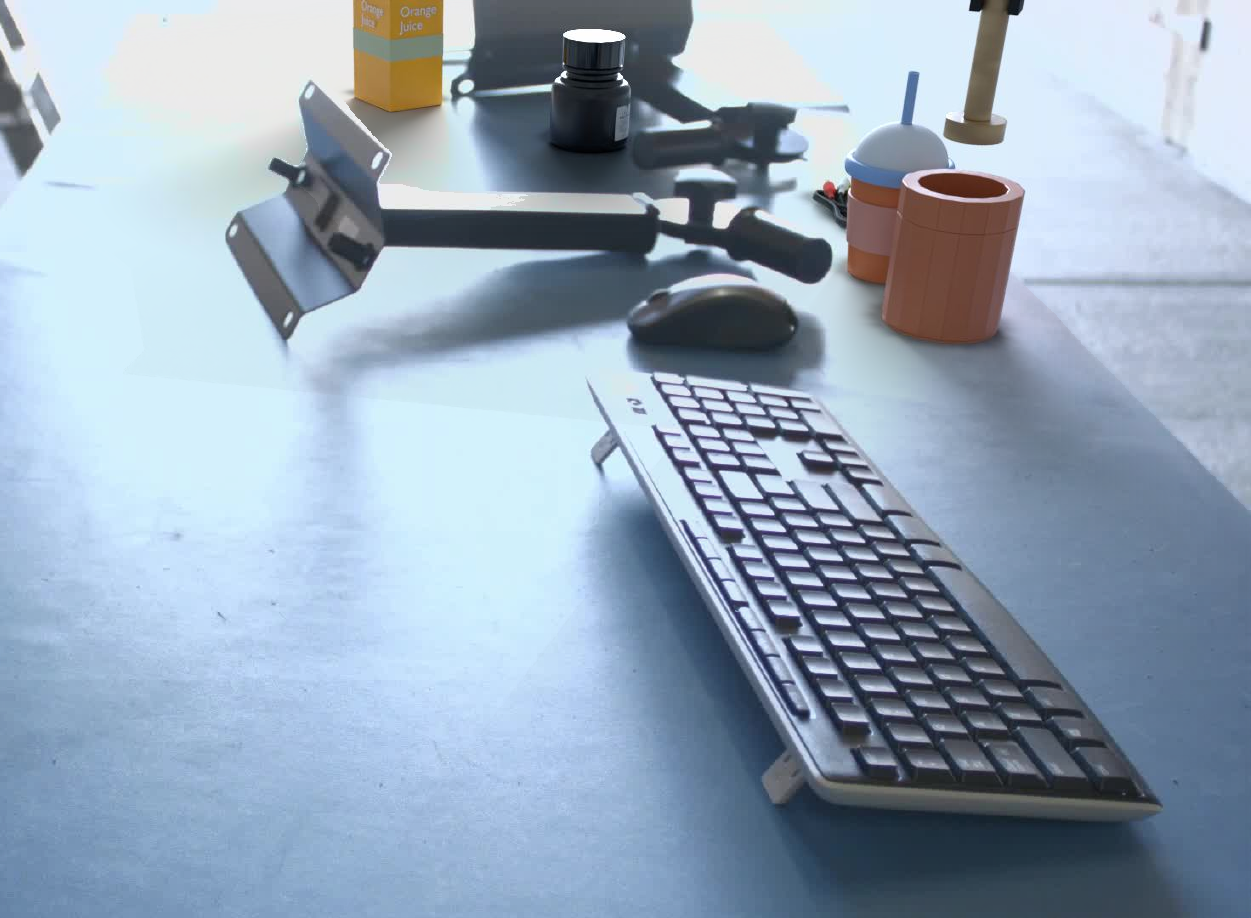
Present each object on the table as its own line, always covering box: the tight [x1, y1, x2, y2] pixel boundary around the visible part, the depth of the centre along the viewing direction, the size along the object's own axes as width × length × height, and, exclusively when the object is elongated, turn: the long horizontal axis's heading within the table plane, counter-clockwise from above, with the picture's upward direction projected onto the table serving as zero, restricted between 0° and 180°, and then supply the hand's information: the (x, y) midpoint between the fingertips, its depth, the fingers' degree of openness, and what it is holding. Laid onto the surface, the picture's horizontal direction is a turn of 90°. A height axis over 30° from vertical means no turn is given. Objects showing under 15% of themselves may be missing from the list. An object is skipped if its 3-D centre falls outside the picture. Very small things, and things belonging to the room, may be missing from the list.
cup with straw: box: [844, 70, 956, 285], centre depth 130 cm, size 9×9×18 cm
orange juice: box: [352, 0, 444, 113], centre depth 184 cm, size 8×9×20 cm
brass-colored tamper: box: [942, 0, 1011, 146], centre depth 111 cm, size 4×4×18 cm
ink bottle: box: [548, 29, 632, 152], centre depth 170 cm, size 10×9×12 cm
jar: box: [880, 168, 1026, 345], centre depth 121 cm, size 9×9×12 cm
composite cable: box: [811, 176, 851, 228], centre depth 150 cm, size 10×5×2 cm, turn 168°
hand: (995, 9), depth 111 cm, fingers closed on brass-colored tamper, 2 cm apart
